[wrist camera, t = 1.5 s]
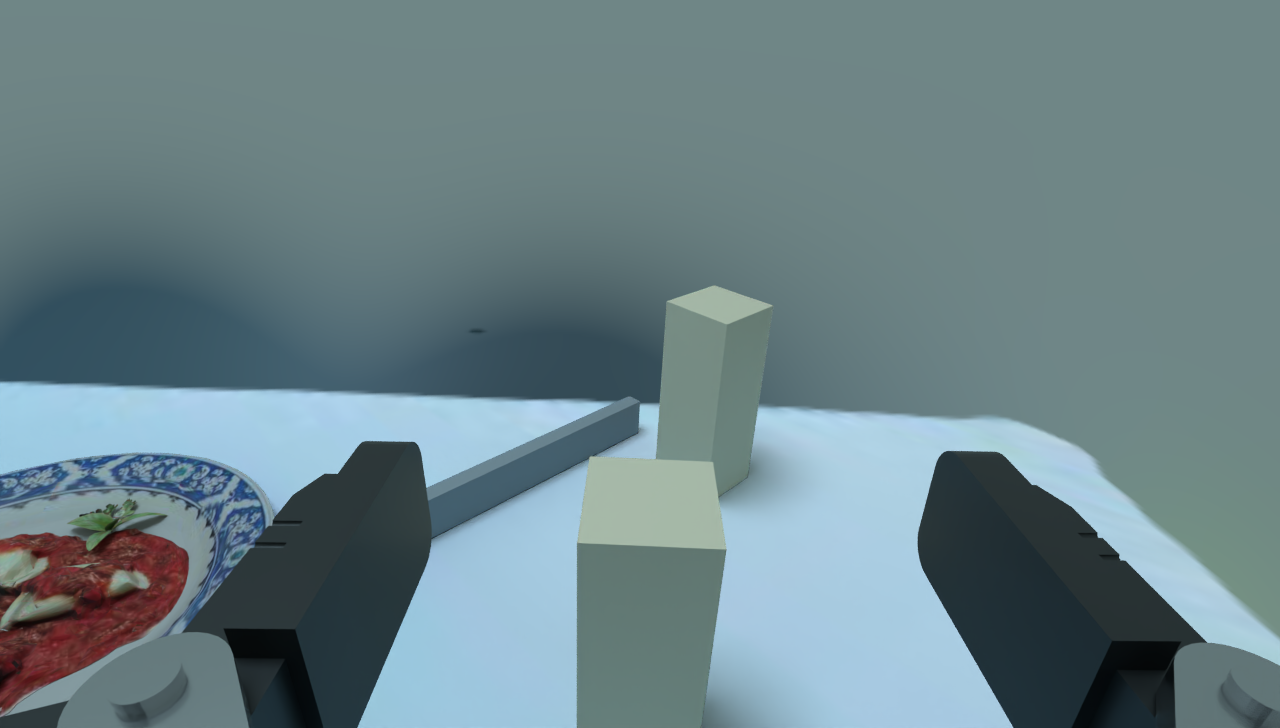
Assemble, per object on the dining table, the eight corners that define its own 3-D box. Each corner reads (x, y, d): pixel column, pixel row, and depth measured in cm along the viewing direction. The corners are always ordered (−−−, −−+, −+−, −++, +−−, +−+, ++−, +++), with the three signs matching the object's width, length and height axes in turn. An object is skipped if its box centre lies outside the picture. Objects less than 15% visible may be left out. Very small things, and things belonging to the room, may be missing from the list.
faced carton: (747, 477, 48) (773, 305, 42) (705, 505, 45) (726, 324, 38) (695, 448, 51) (711, 284, 45) (652, 472, 48) (664, 300, 42)
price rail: (352, 578, 37) (343, 539, 36) (341, 565, 38) (333, 527, 37) (638, 432, 53) (639, 401, 51) (626, 425, 54) (627, 395, 52)
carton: (691, 794, 27) (726, 549, 21) (576, 789, 27) (577, 542, 21) (685, 685, 32) (712, 458, 26) (587, 681, 32) (590, 453, 26)
